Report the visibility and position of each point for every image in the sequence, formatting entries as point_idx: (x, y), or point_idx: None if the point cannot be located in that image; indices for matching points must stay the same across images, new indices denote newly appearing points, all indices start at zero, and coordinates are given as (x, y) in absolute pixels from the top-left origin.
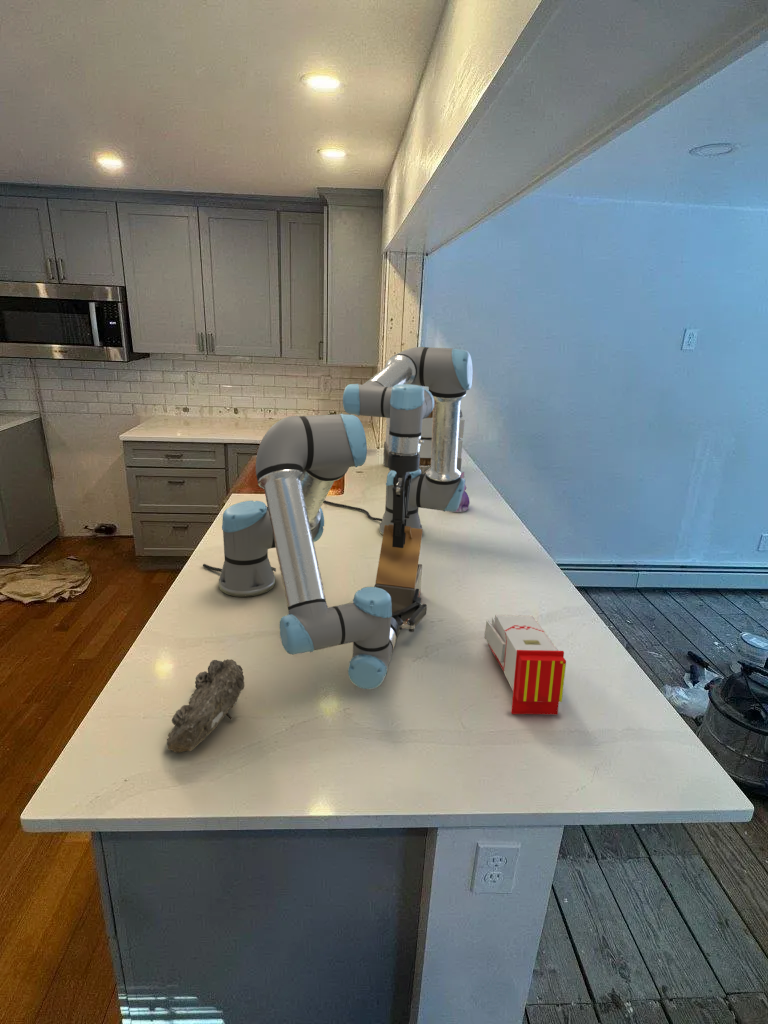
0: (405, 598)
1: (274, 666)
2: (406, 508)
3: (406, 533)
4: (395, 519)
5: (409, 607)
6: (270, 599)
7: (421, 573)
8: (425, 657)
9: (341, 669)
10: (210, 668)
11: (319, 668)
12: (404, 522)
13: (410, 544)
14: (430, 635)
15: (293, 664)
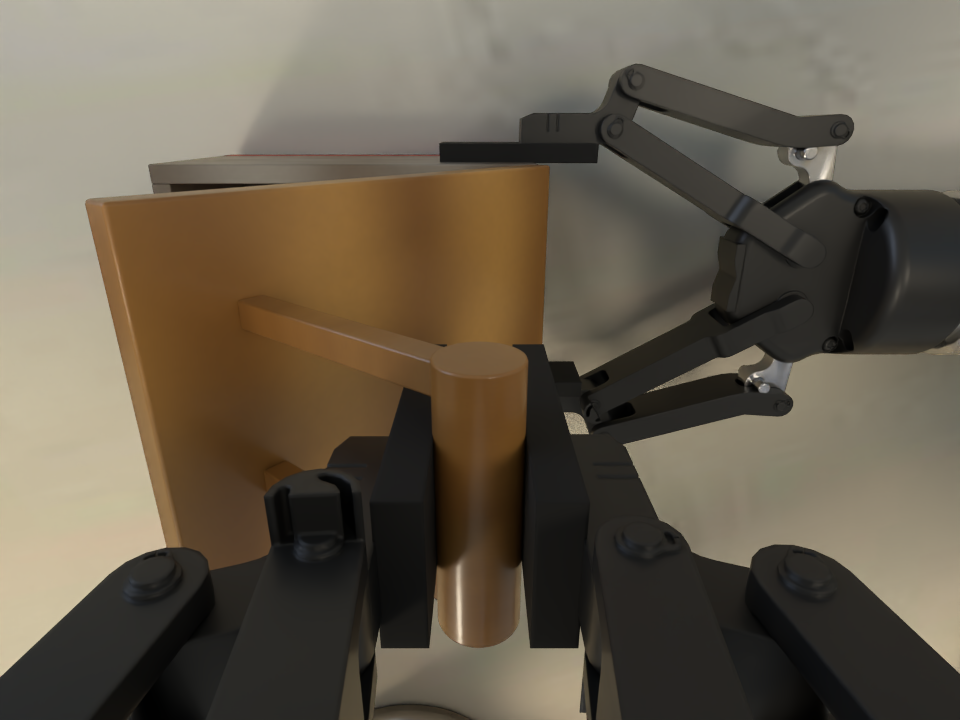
0: None
1: (891, 559)
2: (339, 691)
3: (221, 373)
4: (829, 715)
5: (680, 169)
6: (489, 685)
7: (187, 160)
8: (820, 45)
9: (909, 367)
10: None
11: (903, 436)
12: (548, 510)
13: (315, 288)
14: (629, 44)
15: (880, 514)
